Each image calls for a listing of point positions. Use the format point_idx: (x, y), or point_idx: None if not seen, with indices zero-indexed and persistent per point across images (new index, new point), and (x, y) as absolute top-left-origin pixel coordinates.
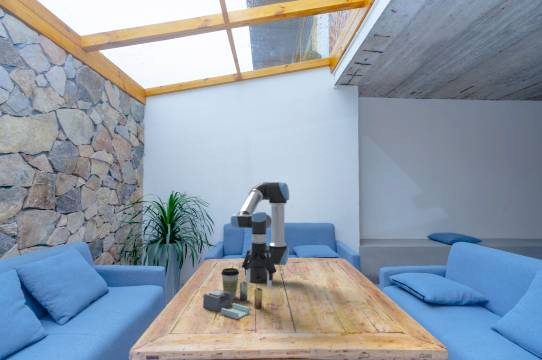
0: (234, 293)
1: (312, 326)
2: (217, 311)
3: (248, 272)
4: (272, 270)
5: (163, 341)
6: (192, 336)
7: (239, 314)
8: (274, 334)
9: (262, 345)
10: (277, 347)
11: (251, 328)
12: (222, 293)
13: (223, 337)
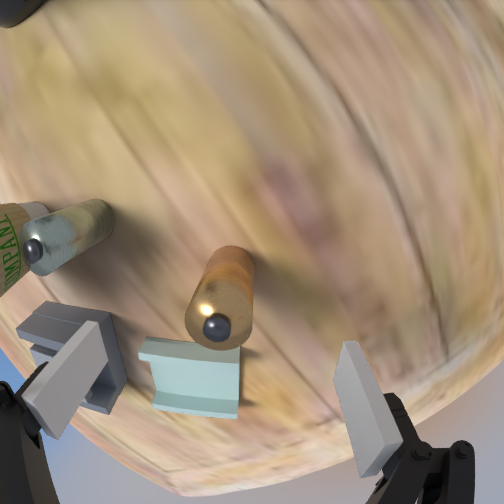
0: None
1: (486, 301)
2: (127, 379)
3: (61, 403)
4: (434, 495)
5: (188, 485)
6: (214, 472)
7: (220, 382)
8: None
9: None
10: None
11: (321, 416)
12: None
13: (279, 460)
